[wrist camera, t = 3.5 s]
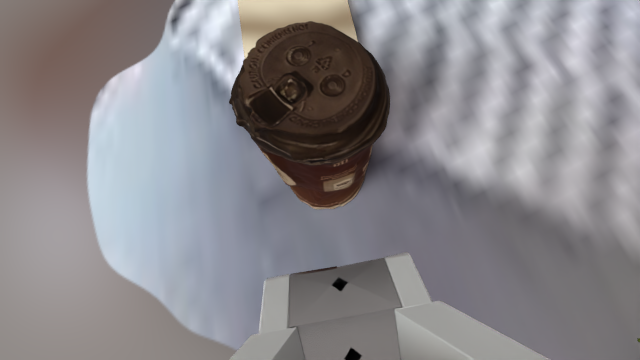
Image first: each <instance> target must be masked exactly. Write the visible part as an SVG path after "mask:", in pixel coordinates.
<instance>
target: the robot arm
mask: <svg viewBox="0 0 640 360" xmlns="http://www.w3.org/2000/svg"><path fill="white" fill-rule="evenodd" d="M230 360H550V359H548V358H546V357H544V356H543V355H541V354H539V353H537V352H535V351H533V350H531V349H529V348H528V347H526V346H524V345H522V344H520V343H518V342H516V341H515V340H513V339H511V338H509V337H507V336H505V335H503V334H502V333H500V332H498V331H496V330H494V329H492V328H490V327H488V326H487V325H485V324H483V323H481V322H479V321H477V320H475V319H474V318H472V317H470V316H468V315H466V314H464V313H462V312H461V311H459V310H457V309H455V308H453V307H451V306H449V305H448V304H446V303H444V302H442V301H436V302H433V301H432V299H431V297H430V295H429V293H428V291H427V289H426V287H425V285H424V283H423V280H422V278H421V276H420V274H419V272H418V270H417V268H416V266H415V264H414V262H413V260H412V258H411V256H410V254H409V253H407V252H405V253H401V254H396V255H392V256H387V257H384V258H380V259H375V260H370V261H365V262H360V263H355V264H350V265H345V266H340V267H330V268H324V269H318V270H312V271H306V272H300V273H293V274H290V275H289V274H287V275H282V276H276V277H271V278H267V279H266V280H265V282H264V289H263V298H262V307H261V316H260V325H259V334H255V335H251V336H250V337H249V338H248V339H247V341H246V342H245V343H244V344H243V345H242V346H241V347H240V348H239V350H238V351H237V352H236V353H235V354H234V355H233V356H232V357H231V359H230Z"/></svg>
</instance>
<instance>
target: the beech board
mask: <svg viewBox="0 0 640 360" xmlns="http://www.w3.org/2000/svg"><path fill="white" fill-rule="evenodd" d="M238 6H239V15H240V23H241V31H242V40H243V48H244V57H245V59H246V58H247V56H248V53H249V52H250V50H251V49H252V48H254V47H255V46H256V42H257V40H258V39H260V38H261V37H263V36H264V35H266V34H267V33H270V32H273V31H274V30H276V29H277V28H283V27H286V26H287V25H291V24H294V23H302V22H304V23H305V22H308V21H313V22H316V23H323V24H326V25H329V26H332V27H334V28H335V29H337V30H339V31H341V32H342V33H344V34H346V35H347V36H349V37H351V38H352V39H354V40H356V41H357V42H358V39H357V36H356V32H355V28H354V24H353V20H352V16H351V12H350V8H349V4H348V0H238Z"/></svg>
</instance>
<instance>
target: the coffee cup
mask: <svg viewBox="0 0 640 360" xmlns="http://www.w3.org/2000/svg"><path fill="white" fill-rule="evenodd" d="M229 103H230V104H232V106H233V107H232V108H233V110H234V113H235V116H236V123H237V124H238V125H239V126H242V127H244V128H245V129H246V130H247V131H248V132H249V134H250V135H251V138H252V139H253V140H254V142H255V143H256V144H257V145H258V147H259V148H260V150H261V151H262V153H263V154H264V155H265V156H266V158H267V159H268V160H269V161H270V162H271V163H272V164H273V166H274V167H275V169H276V170H277V172H278V174H279V175H280V177H281V178H282V180H283V181H284V182H285V183H286V184H287V185H288V186H290V187H291V189H292V191H293V192H294V193H295V194H296V196H297V197H298V198H299V199H300V201H302V202H304V203H306V204H308V205H309V206H311V207H312V208H314V209H325V208H327V209H335V208H336V207H338V206H344V205H345V204H347V203H348V202H350V201H351V200H353V199H354V197H355V196H356V195H357V194H358V192H359V190H360V187H361V185H362V183H363V181H364V177H365V172H366V169H367V166H368V163H369V160H370V157H371V151H372V146H373V143H374V142H375V141H376V140H377V139H378V138H379V137H380V136H381V134H382V133H383V131H384V130H385V128H386V125H387V118H388V114H389V108H390V95H389V88H388V86H387V83H386V79H385V75H384V73H383V71H382V69H381V67H380V66H379V64H378V63H377V61H376V60H375V58H374V57H373V55H372V54H371V53H370V52H368V51H367V50H366V49H365V48H364V47H363V46H362V45H361V44H360V43H359V42H357V41H356V40H354V39H352V38H351V37H349V36H347V35H346V34H344V33H342V32H341V31H339V30H337V29H335V28H334V27H332V26H329V25H326V24H323V23H316V22H313V21H308V22H305V23H304V22H302V23H294V24H291V25H287V26H286V27H283V28H277V29H276V30H274V31H273V32H270V33H267V34H266V35H264V36H263V37H261V38H260V39H258V40H257V42H256V46H255V47H254V48H252V49H251V50H250V52H249V53H248V56H247V58H246V59H244V61H243V65H242V68H241V71H240V73H239V74H238V76H237V78H236V80H235V83H234V85H233V88H232V91H231V98H230V101H229Z"/></svg>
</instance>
